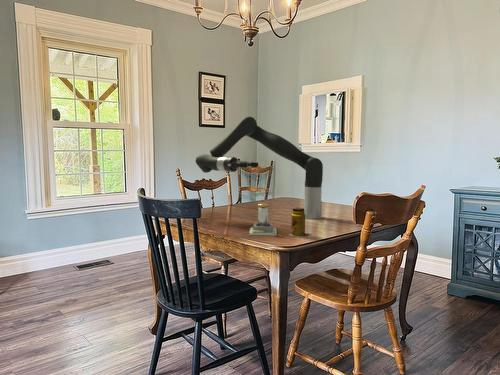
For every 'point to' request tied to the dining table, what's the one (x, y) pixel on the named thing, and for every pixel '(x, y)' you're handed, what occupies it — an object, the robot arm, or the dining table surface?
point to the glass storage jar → (263, 214)
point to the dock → (263, 230)
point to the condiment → (298, 223)
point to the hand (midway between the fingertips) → (252, 165)
